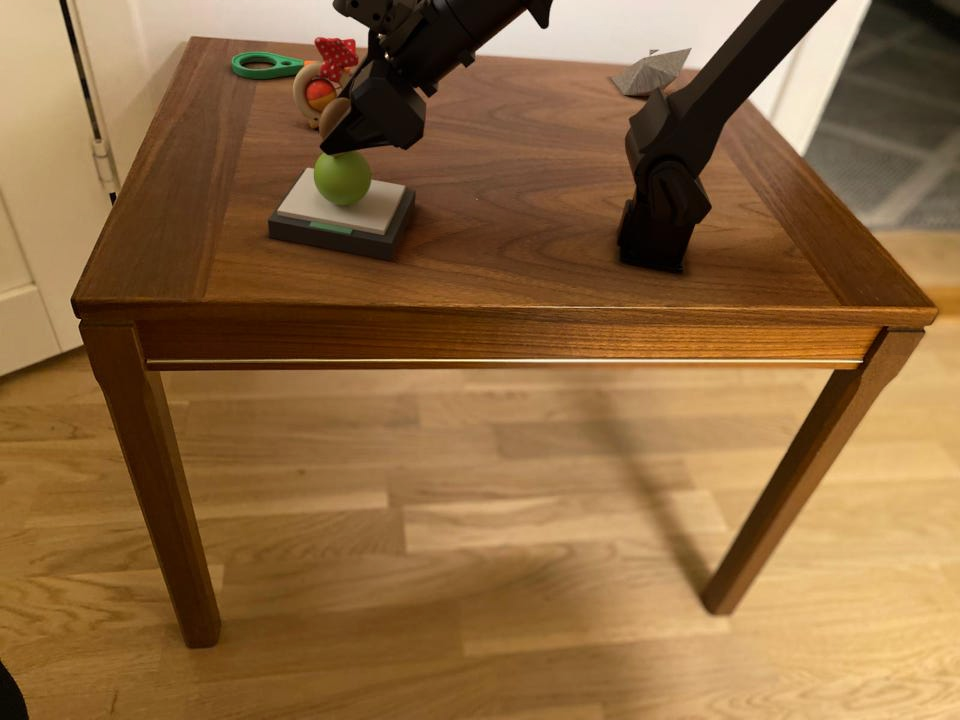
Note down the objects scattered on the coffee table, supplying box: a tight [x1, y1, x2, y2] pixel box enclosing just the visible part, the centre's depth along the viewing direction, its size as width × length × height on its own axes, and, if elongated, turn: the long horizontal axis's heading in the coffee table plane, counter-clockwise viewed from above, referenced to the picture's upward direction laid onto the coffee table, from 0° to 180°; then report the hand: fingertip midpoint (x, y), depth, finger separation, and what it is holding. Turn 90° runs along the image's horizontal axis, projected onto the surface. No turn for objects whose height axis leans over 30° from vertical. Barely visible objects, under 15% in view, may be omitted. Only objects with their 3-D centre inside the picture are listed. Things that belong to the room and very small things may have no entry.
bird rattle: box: [292, 36, 360, 129], centre depth 85 cm, size 6×11×9 cm
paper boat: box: [610, 47, 693, 97], centre depth 106 cm, size 12×6×9 cm
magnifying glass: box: [231, 51, 351, 80], centre depth 98 cm, size 15×6×2 cm, turn 96°
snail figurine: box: [313, 69, 373, 205], centre depth 69 cm, size 5×6×12 cm
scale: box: [267, 167, 417, 261], centre depth 74 cm, size 12×10×3 cm
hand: (331, 126), depth 68 cm, fingers open, 9 cm apart
